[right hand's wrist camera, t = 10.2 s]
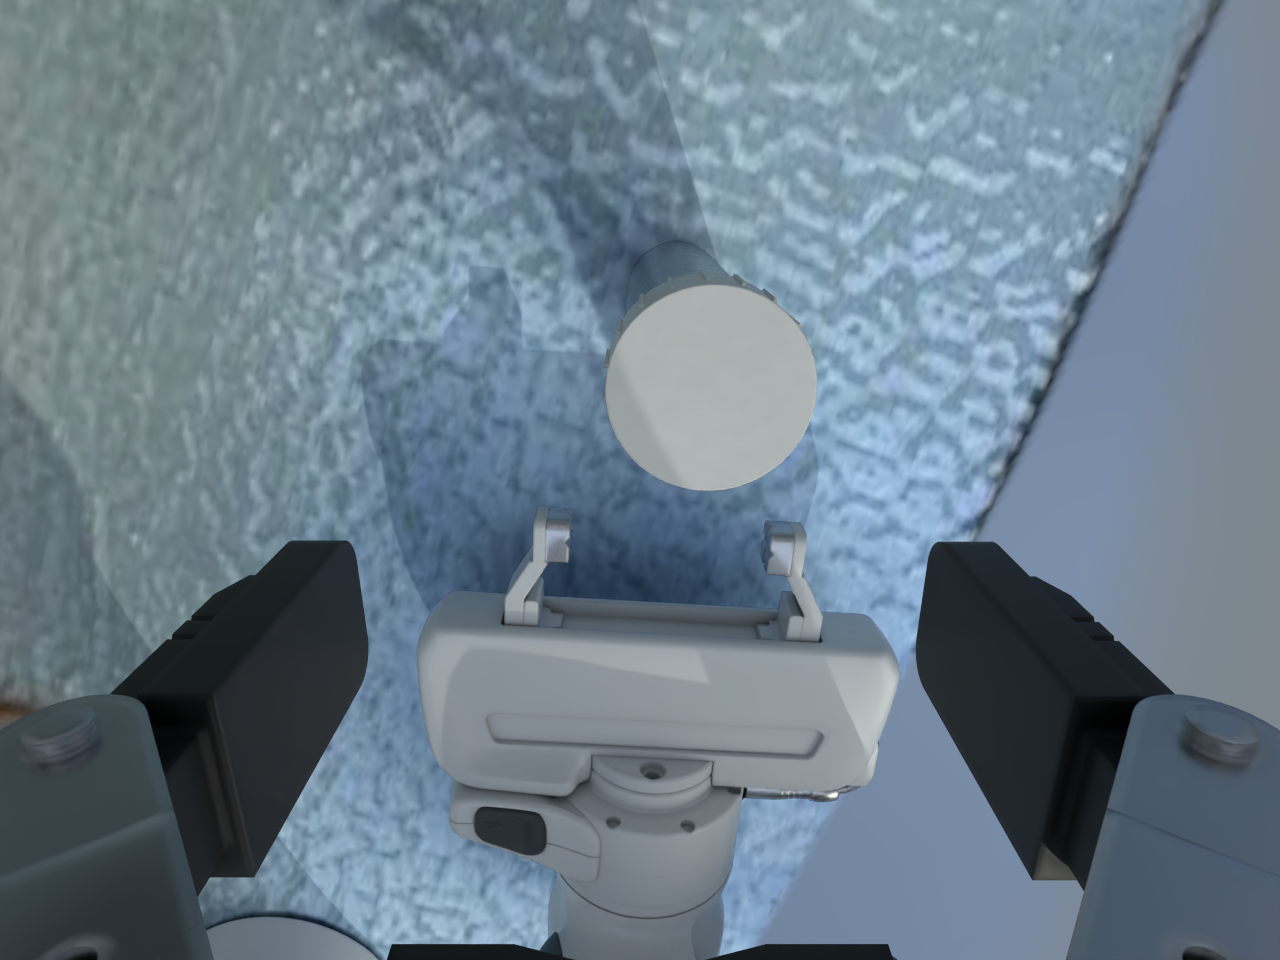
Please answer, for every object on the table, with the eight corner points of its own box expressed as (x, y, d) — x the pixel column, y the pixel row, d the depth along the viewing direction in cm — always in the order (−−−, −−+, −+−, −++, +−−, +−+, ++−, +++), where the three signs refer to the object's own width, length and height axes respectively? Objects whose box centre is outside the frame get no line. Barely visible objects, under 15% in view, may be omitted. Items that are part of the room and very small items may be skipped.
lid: (564, 358, 20) (555, 379, 18) (720, 225, 19) (730, 231, 17) (687, 496, 21) (693, 532, 19) (839, 380, 20) (862, 404, 18)
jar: (608, 285, 34) (582, 377, 18) (682, 220, 34) (725, 256, 17) (669, 358, 36) (695, 505, 20) (743, 297, 35) (835, 398, 19)
